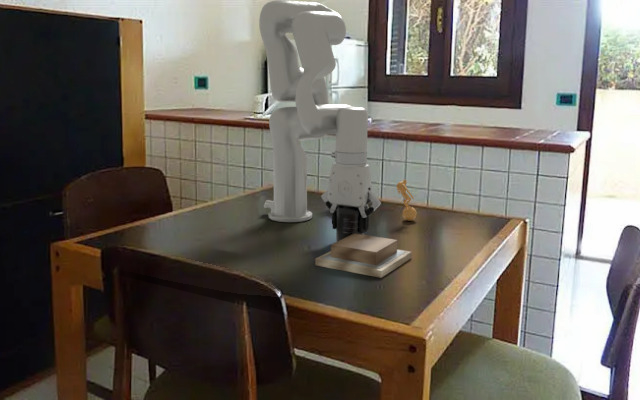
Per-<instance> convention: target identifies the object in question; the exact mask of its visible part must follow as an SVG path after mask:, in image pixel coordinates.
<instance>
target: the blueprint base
mask: <svg viewBox="0 0 640 400" xmlns="http://www.w3.org/2000/svg"><path fill="white" fill-rule="evenodd" d="M412 255H413V254H412V251H409V250H403V249H398V239H393V238H387V237H380V236H373V235H368V234H367V235H366V234H364V235H361V234H355V233H354V234H352V235H350V236H348V237H346V238H344V239H342V240H340V241H335V242H334V243H331V245H330V251H328V252H326V253H324V254H322V255H320V256H318V257H316V258H315V259H314V261H315V262H314V263H315V266H317V267H322V268H323V267H324V268H327V269H333V270H339V271H343V272H349V273H354V274H359V275H364V276H371V277H374V278H375V277H376V278H380V279H382V278H384V277H385V276H386V275H388V274H389V273H391V272H392V271H394V270H396V269H398V267H401V266H402V265H403V264H405V263H406V262H408V261H409V260H411V259H412Z"/></svg>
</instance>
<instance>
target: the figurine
mask: <svg viewBox="0 0 640 400" xmlns="http://www.w3.org/2000/svg"><path fill="white" fill-rule="evenodd" d="M407 184H408V181H407V179H403V180H402V181H399V182H397V185H396V190H397V193H398V195H399V194H401V196H402V197H403V198H404V200H403V205H404V206H405V207H404V209H403V210H402V217H403V219H404V220H406V221H408V222H410V221H413V220H415V219H416V218H417V215H418V213H417V210H416V209H415V208H414V207H413V206H410V205H409V203H410V202H411V201H412V200H414V199H415V198H414V196H413V194H412V193H411V192H410V191H409V189H408V188H407ZM409 195H410V196H409Z"/></svg>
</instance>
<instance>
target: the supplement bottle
mask: <svg viewBox="0 0 640 400" xmlns="http://www.w3.org/2000/svg"><path fill="white" fill-rule="evenodd" d="M360 217H362V215H361V213H360V210H359V208H358V207H351V206H343V205H339V206H338V207H337V210H336V229H335V231H336V233H335V236H336V238H335V239H336V240H335V242H337V241H340V240H342V239H344V238H346V237H348V236H350V235H352V234H354V233H355V234H361V235H365V232H364V233H359V219H360Z"/></svg>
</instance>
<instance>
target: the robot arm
mask: <svg viewBox="0 0 640 400" xmlns="http://www.w3.org/2000/svg"><path fill="white" fill-rule="evenodd" d="M258 22H259V23H258V25H259V32H260V33H259V34H260V36H261V40H262V42H263V45H264V49H265V51H266V57H267V65H268V66H267V67H268V75H269V76H268V77H269V85H270V91H271V92H270V93H271V95H272V97H273V99H274V101H277V102H278V103H279V102H280V103H295V106H284V107H279V108H277V109H275V110H274V111H273V112H272V113H271V114H270V116H269V121H268V124H269V131H270V136H271V143H272V145H271V146H272V157H273V159H272V160H273V161H272V163H273V164H272V165H273V167H272V168H273V200H269V199H266V200H265V202H264V204H263V207H264V208H265V209H270V212H269V213H268V219H270V220H271V221H275V222H280V223H281V222H282V223H299V222H301V223H302V222H305V221H309V220H311V219H312V218H313V212H312V211H310V210H308V193H307V192H308V176H307V175H308V160H307V159H308V158H307V154H306V151H305V149H304V148H303V147H302V144H301V143H300V142H302V141H311V140H313V141H315V140H320V139H324V138H325V137H326V136H332V135H333V136H335V151H334V152H333V151H332V152H331V158H332V159H334V163H332V165H331V168H330V173H329V180H328V181H329V182H328V189H327V190H326V191H324V192H323V193H322V194H321V196H320V197H321V199H322V201H323V202H324V203H325V205H326V207H327V208H328V209H329V212H330V213H331V225H332V230H336V210H337V207H338V206H339V205H343V206H351V207H358V208H359V210H360V213H361V215H362V217H360V219H359V233H364V234H365V233H366V232H367V231H368V230H369V226H370V224H369V223H370V222H369V221H370V216H371V215H372V214H373V213H374V212H375V211H376V210H377V208H379V207H380V206H381V204H382V203H381V200H380V199H379V198H378V197H377V196H376V195H375V194H374V193H373V191H372V190H373V187H372V185H373V184H372V175H371V174H372V173H371V170H370V165H369V164H367V163H368V161H367V160H368V123H369V117H368V116H369V113H368V111H367V109H366V108H364V107H360V106H353V105H352V106H351V105H349V104H346V103H337V104H336V103H335V104H334V103H330V104H329V98H328V88H327V83H326V80H325V79H326V78H325V77H327V76H328V75H330V74H331V73H332V72H333V71H334V70H335V69H336V66H337V65H336V59H335V55H334V53H333V49H332V46H339V45H340V44H342V43H343V42H344V40H345V38H346V34H347V33H346V32H347V28H346V24H345V21H344V19H343V16H341V14H340V13H338V12H337V11H336V10H333V9H332V8H329V7H327V6H326V5H324V4H322V3H319V2H314V1H302V0H271V1H268V2H266V3H265V4H264V5H263V6H262V8H261V10H260V14H259V20H258ZM287 34H292V35H293V39H294V42H295V44H294V42H293V41H292V40H291V39H290V38H289V36H287ZM299 60H300V63H301V67H300V63H299ZM369 204H371V206H370V207H369Z"/></svg>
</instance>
